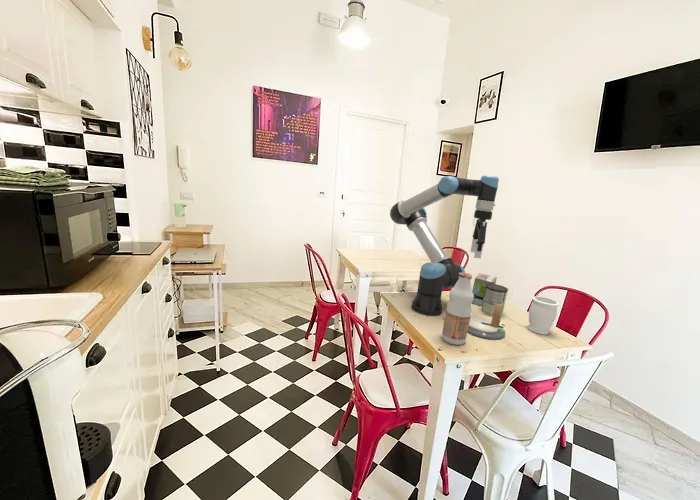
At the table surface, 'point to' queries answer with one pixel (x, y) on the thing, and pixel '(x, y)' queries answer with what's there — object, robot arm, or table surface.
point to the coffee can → (493, 298)
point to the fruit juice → (458, 311)
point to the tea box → (481, 287)
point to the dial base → (488, 334)
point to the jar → (542, 314)
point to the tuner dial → (487, 321)
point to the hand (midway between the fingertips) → (475, 255)
